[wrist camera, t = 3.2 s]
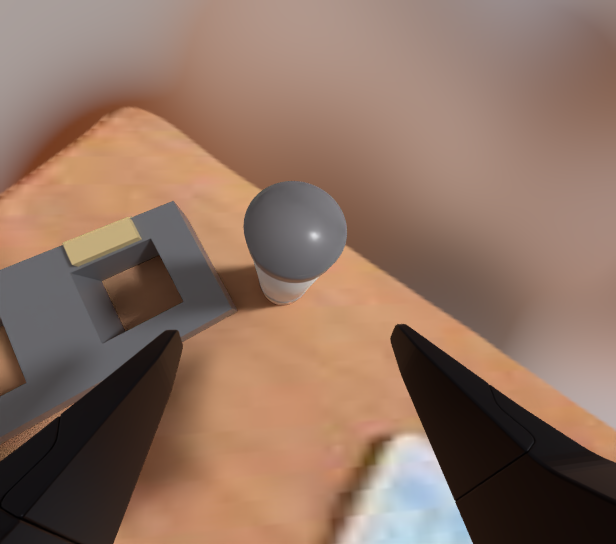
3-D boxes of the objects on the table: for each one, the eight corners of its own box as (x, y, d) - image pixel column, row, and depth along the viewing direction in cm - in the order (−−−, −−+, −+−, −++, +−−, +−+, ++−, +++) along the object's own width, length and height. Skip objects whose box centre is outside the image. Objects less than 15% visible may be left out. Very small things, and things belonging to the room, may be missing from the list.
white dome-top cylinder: (280, 315, 20) (291, 299, 8) (251, 280, 20) (221, 217, 8) (313, 286, 21) (366, 235, 9) (285, 254, 22) (302, 164, 10)
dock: (-60, 477, 15) (-160, 524, 11) (-106, 337, 16) (-209, 341, 12) (237, 311, 20) (230, 308, 16) (185, 215, 21) (169, 194, 18)
